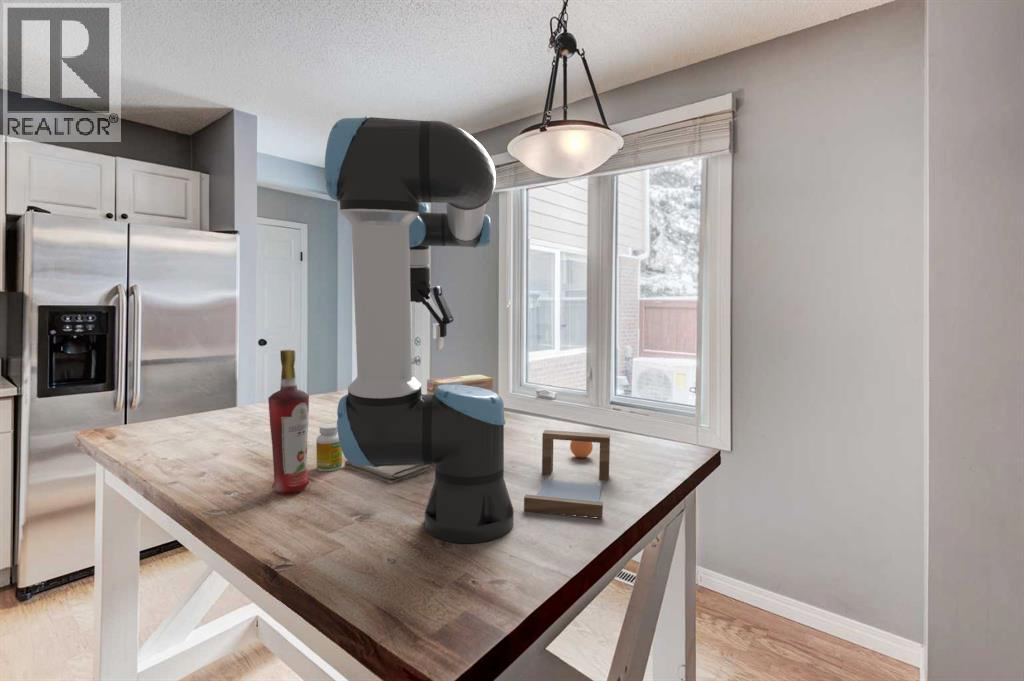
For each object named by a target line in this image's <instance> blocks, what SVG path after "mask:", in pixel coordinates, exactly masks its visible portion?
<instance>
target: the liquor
mask: <svg viewBox="0 0 1024 681" xmlns="http://www.w3.org/2000/svg"><path fill="white" fill-rule="evenodd" d="M279 351H280V353H279V355H280V363H281V376H280V390H277V391H276V392H273V393H272V394H271V395H270V396H269V397H268V398H267V400H268V414H269V415H268V416H269V427H270V436H271V437H270V438H271V450H272V462H273V483H272V485H271V488H272V489H273V490H275V491H276V492H277V493H278V494H280V495H282V494H284V495H285V496H287V495H286V494H290V495H296V494H298V492H299V493H300V491H301V492H302V491H304V489H305V488H306V487H307V486H308V485H309V484H310V479H309V478H308V438H309V437H308V436H309V419H310V418H309V415H310V414H309V409H310V407H309V406H310V405H309V404H310V395H309V394H308V393H306V392H305V391H304V390H301V389H298V385H297V377H296V371H295V365H296V364H295V363H296V350H295V349H283V350H282V349H281V350H279ZM295 493H296V494H295ZM284 495H283V496H284Z"/></svg>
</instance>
